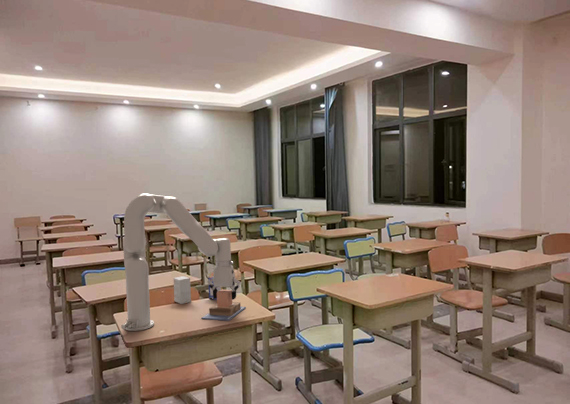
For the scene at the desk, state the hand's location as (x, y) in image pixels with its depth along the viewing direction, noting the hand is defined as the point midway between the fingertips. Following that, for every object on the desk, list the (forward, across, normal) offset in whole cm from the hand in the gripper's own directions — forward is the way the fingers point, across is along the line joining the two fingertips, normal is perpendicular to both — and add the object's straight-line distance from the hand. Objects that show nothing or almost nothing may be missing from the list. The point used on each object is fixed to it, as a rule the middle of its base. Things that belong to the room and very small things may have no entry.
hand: (224, 298), depth 198 cm
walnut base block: (+7, 0, 0) cm, 7 cm away
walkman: (+7, +16, -22) cm, 28 cm away
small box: (+7, +32, -14) cm, 36 cm away
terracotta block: (+3, 0, 0) cm, 3 cm away
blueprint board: (+7, 0, +1) cm, 7 cm away
